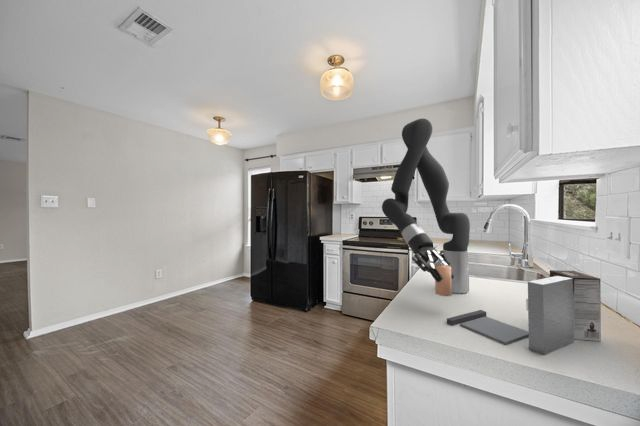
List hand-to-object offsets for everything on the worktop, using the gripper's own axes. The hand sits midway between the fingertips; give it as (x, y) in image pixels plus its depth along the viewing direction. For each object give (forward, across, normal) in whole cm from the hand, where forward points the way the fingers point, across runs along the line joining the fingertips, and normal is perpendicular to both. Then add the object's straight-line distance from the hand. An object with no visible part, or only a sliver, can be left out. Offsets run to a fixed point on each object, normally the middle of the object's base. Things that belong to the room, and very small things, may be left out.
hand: (446, 279), depth 81 cm
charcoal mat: (+17, +3, -1) cm, 18 cm away
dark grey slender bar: (+12, +2, +5) cm, 13 cm away
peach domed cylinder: (+3, 0, +4) cm, 5 cm away
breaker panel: (+25, +7, -9) cm, 28 cm away
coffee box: (+25, +21, -8) cm, 33 cm away
